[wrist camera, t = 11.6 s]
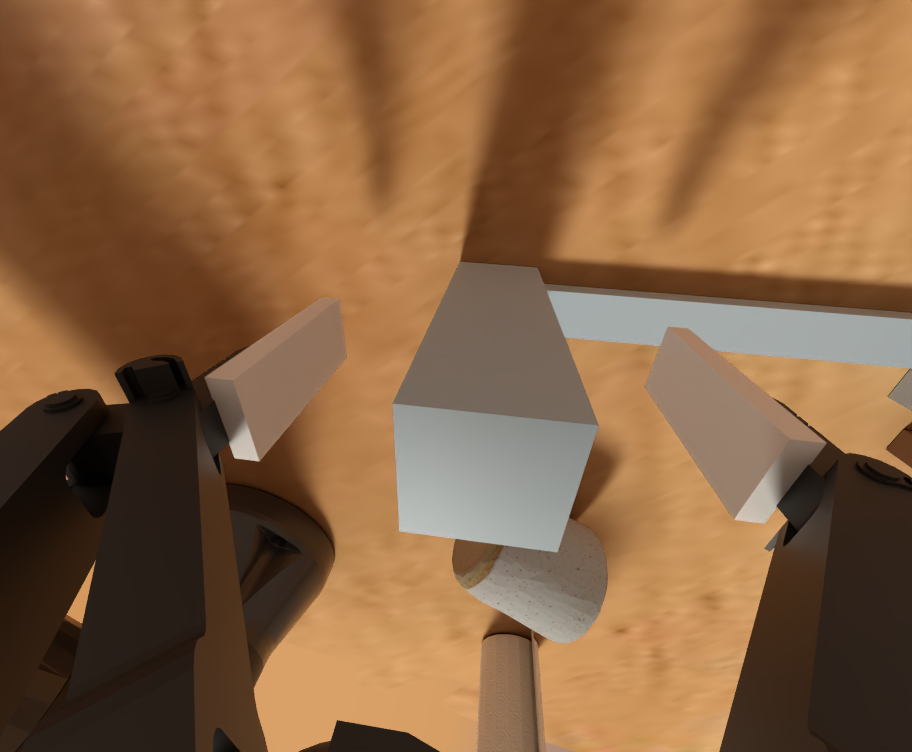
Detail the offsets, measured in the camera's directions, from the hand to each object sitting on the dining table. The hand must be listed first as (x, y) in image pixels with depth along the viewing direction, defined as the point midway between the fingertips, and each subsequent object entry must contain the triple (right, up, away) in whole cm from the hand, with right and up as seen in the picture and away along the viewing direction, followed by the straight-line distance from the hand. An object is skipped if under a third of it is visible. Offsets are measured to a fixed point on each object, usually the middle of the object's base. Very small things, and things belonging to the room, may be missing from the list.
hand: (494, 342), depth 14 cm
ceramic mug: (+3, -13, +14) cm, 19 cm away
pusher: (+11, +2, +4) cm, 12 cm away
